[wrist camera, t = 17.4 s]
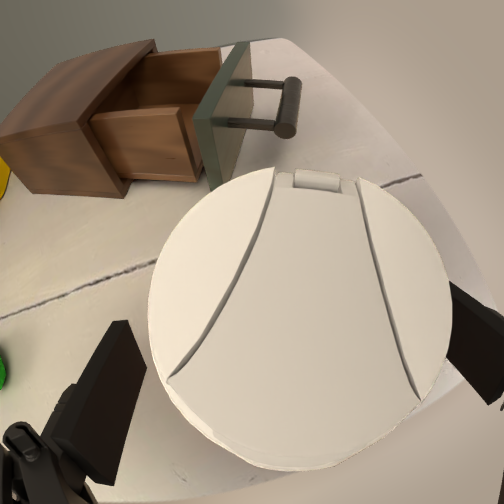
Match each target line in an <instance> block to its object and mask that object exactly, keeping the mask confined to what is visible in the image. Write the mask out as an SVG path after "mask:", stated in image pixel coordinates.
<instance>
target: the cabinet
mask: <svg viewBox="0 0 504 504" xmlns="http://www.w3.org/2000/svg"><path fill="white" fill-rule="evenodd" d="M151 53H158V51H157V48H156V44H155V41H154V39H149V40H144V41H138V42H133V43H129V44H124V45H120V46H115V47H111V48H107V49H103V50H99V51H96V52H92V53H89V54H86V55H82V56H79V57H76V58H73V59H70V60H67V61H64V62H61V63H58V64H57V65H56V66H54V67H53V68H52V69H51V70H50V71H49V72H48V73H47V74H46V75H45V76H44V77H43V78H42V79H41V80H40V81H39V82H38V83H37V84H36V85H35V86H34V87H33V88H32V89H31V90H30V91H29V92H28V93H27V94H26V95H25V96H24V97H23V98H22V100H21V101H20V102H19V103H18V104H17V105H16V106H15V107H14V109H13V110H12V111H11V112H10V113H9V115H8V116H7V117H6V118H5V119H4V121H3V122H2V123H1V124H0V157H1V158H2V159H3V161H4V162H5V163H6V164H7V165H8V167H9V168H10V169H11V170H12V171H13V172H14V174H15V175H16V176H17V177H18V178H19V179H20V181H21V182H22V183H23V184H24V185H25V186H26V187H27V188H28V189H29V191H30V192H31V193H33V194H57V195H75V196H92V197H106V198H120V199H124V197H125V195H126V193H127V191H128V189H129V187H130V185H131V183H132V181H133V179H130V178H119V177H118V175H117V174H116V172H115V170H114V169H113V167H112V165H111V164H110V162H109V160H108V158H107V157H106V155H105V153H104V151H103V150H102V148H101V146H100V144H99V143H98V141H97V139H96V137H95V136H94V134H93V132H92V130H91V128H90V127H89V125H88V123H87V120H88V119H89V118H90V117H91V115H92V114H93V113H94V111H95V110H96V109H97V108H98V106H99V105H100V104H101V103H102V102H103V100H104V99H105V98H106V97H107V96H108V94H109V93H110V92H111V91H112V90H113V89H114V88H115V86H116V85H117V84H118V83H119V82H120V81H121V80H122V79H123V78H124V77H125V75H126V74H127V73H128V72H129V71H130V70H131V69H132V68H133V67H134V66H135V65H136V64H137V63H138V62H139V61H140V60H141V59H142V58H143V57H144V56H145V55H146V54H151Z"/></svg>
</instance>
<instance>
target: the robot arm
mask: <svg viewBox="0 0 504 504" xmlns="http://www.w3.org/2000/svg"><path fill="white" fill-rule="evenodd" d="M449 285H450V292H451V299H452V329H451V335H450V341H449V347H448V351H447V354H446V358H447V359H448V360H449V361H450V362H451V363H452V364H453V365H454V367H455V368H456V369H457V370H458V371H459V372H460V373H461V374H462V376H463V377H464V378H465V379H466V380H467V381H468V382H469V384H470V385H471V386H472V387H473V388H474V389H475V390H476V392H477V393H478V394H479V395H480V396H481V397H482V399H483V400H484V401H485V402H486V403H487V405H490V404H492V403H493V402H495V401H496V400H497V399H498V398H500V397H501V396H502V393H503V392H504V317H503V316H502V315H501V314H499V313H498V312H497V311H495V310H493V309H490V308H488V307H485V306H484V305H482V304H481V303H480V302H478V301H477V300H476V299H474V298H473V297H471V296H470V295H469V294H467V293H466V292H464V291H463V290H462V289H460V288H459V287H457V286H456V285H454V284H453V283H451V282H450V281H449ZM146 370H147V366H146V364H145V362H144V359H143V357H142V355H141V352H140V350H139V347H138V345H137V343H136V340H135V338H134V335H133V333H132V330H131V327H130V325H129V322H128V320H120V321H113V322H112V323H111V325H110V326H109V328H108V330H107V331H106V333H105V335H104V336H103V338H102V340H101V341H100V343H99V345H98V346H97V348H96V350H95V352H94V353H93V355H92V357H91V359H90V360H89V362H88V364H87V366H86V367H85V369H84V371H83V373H82V375H81V376H80V378H79V380H78V382H77V384H71V385H70V386H69V387H68V388H67V389H66V390H65V391H64V392H63V393H62V395H61V397H60V399H59V401H58V404H56V406H55V408H54V411H53V412H52V414H51V416H50V418H49V420H48V422H47V424H46V426H45V428H44V430H43V432H42V434H41V436H39V435H38V434H37V433H36V431H35V430H34V429H33V428H32V427H31V425H30V424H28V423H27V422H22V421H20V422H16V423H14V424H12V425H11V426H9V427H8V429H7V430H6V431H5V433H4V435H3V443H4V444H5V446H6V447H7V448H8V449H9V450H10V451H7V450H6V449H5V448H4V447H3V446H2V445H1V444H0V504H98V502H97V501H96V499H95V497H94V495H93V493H92V491H91V489H90V488H89V486H88V485H87V484H86V482H85V479H86V475H87V476H88V477H89V478H91V479H92V480H93V481H94V482H95V483H98V484H104V485H109V486H114V484H115V480H116V475H117V471H118V467H119V463H120V459H121V455H122V452H123V448H124V444H125V440H126V437H127V433H128V430H129V426H130V423H131V419H132V416H133V412H134V409H135V405H136V402H137V399H138V396H139V392H140V389H141V386H142V383H143V380H144V376H145V373H146ZM503 409H504V402H503V404H502V406H501V409H500V411H502V410H503ZM12 492H13V493H15V494H16V495H17V499H16V500H14V499H13V498H12ZM498 504H504V472H503V479H502V485H501V490H500V495H499V500H498Z"/></svg>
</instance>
